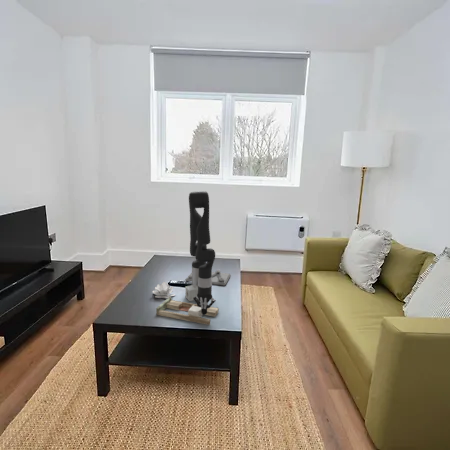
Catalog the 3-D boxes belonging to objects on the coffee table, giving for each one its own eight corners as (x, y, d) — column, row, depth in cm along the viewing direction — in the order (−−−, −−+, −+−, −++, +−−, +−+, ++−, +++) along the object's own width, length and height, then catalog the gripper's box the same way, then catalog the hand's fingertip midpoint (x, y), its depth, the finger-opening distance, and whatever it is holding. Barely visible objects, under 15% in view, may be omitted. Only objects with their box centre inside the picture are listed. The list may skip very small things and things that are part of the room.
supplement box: (184, 297, 201) (203, 293, 207) (189, 301, 195) (207, 298, 201) (185, 286, 200) (203, 283, 206) (189, 290, 193) (208, 287, 199)
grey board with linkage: (230, 276, 241) (231, 267, 240) (225, 287, 221) (225, 277, 219) (193, 272, 247) (193, 263, 246) (184, 282, 226) (184, 273, 225)
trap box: (169, 303, 191) (169, 297, 191) (218, 312, 182) (218, 305, 182) (156, 314, 177) (156, 308, 176) (209, 324, 168) (209, 317, 167)
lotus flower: (180, 295, 203) (180, 282, 201) (161, 303, 192) (161, 289, 190) (165, 289, 212) (165, 277, 210) (147, 296, 201) (147, 283, 199)
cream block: (192, 313, 179) (192, 305, 178) (202, 315, 178) (202, 307, 177) (188, 318, 174) (188, 310, 173) (198, 320, 172) (198, 312, 171)
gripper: (218, 283, 172) (217, 313, 176) (196, 280, 176) (195, 309, 179) (214, 288, 165) (213, 319, 169) (190, 285, 169) (190, 315, 172)
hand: (204, 314), depth 174 cm, fingers closed
